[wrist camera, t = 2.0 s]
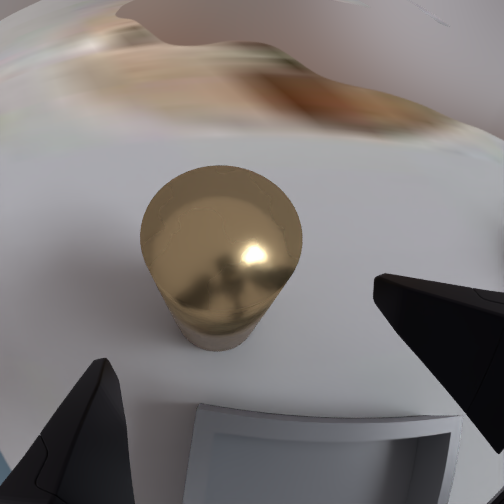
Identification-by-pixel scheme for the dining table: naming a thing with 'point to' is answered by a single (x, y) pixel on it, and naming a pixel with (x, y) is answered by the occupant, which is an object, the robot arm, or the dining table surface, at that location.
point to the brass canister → (220, 251)
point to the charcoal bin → (320, 459)
